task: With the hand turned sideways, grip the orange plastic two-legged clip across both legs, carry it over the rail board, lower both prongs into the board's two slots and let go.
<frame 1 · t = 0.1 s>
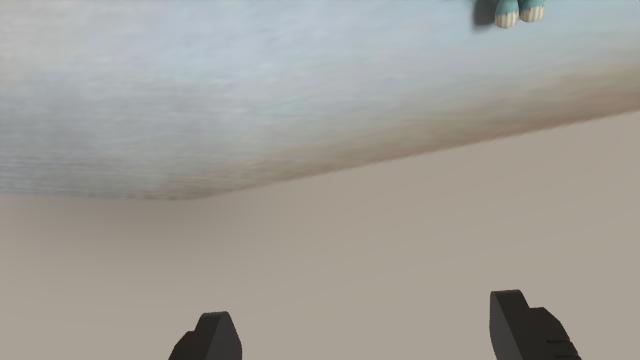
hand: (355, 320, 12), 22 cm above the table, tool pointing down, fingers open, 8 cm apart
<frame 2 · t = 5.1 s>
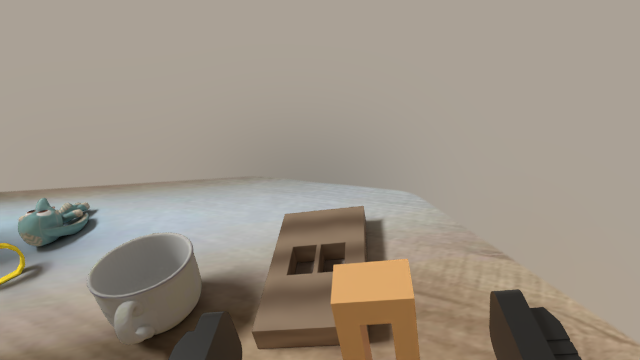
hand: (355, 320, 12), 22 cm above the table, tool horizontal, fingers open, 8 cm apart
teacup: (162, 323, 45), on the table
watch: (9, 279, 59), on the table
rail: (320, 274, 47), on the table
stuffed animal: (63, 231, 69), on the table
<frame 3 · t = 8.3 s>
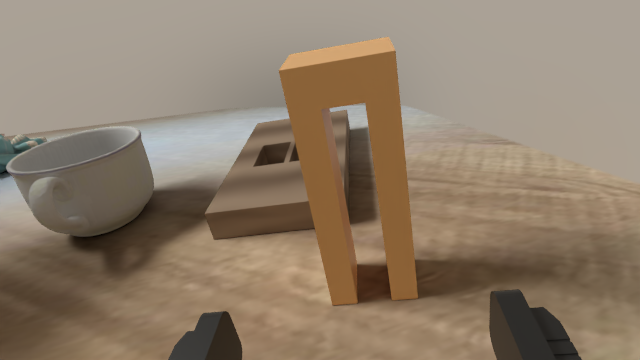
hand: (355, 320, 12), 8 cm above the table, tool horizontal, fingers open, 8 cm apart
teacup: (105, 228, 38), on the table
clip: (373, 280, 25), on the table
rail: (295, 173, 40), on the table
stuffed animal: (16, 165, 62), on the table
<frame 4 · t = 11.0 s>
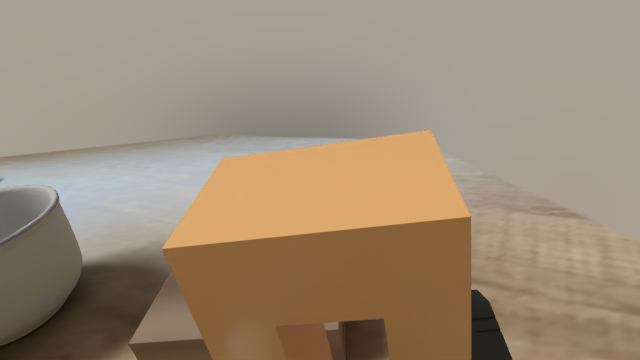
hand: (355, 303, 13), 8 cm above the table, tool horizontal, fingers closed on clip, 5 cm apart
teacup: (10, 331, 27), on the table
rail: (275, 249, 30), on the table
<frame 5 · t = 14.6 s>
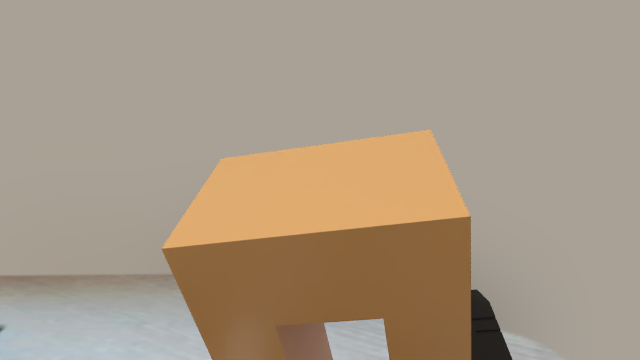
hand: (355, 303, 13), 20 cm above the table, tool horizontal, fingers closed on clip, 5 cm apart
when the fingers open (9 cm above the table, at t = 18.2 s): clip drops 1 cm, resting in rail.
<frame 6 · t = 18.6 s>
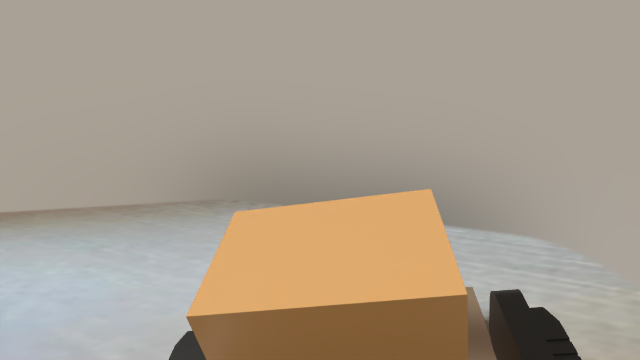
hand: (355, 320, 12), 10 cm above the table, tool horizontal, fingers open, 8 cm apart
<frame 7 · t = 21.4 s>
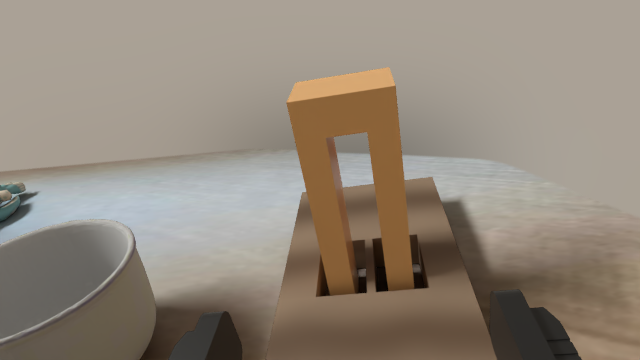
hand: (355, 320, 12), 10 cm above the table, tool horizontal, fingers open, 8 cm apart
clip: (373, 293, 26), resting in rail
rail: (374, 292, 26), on the table
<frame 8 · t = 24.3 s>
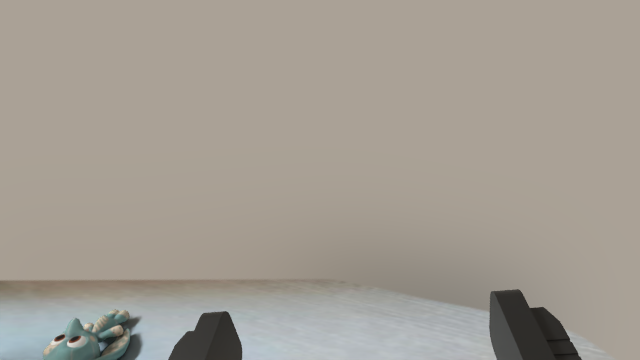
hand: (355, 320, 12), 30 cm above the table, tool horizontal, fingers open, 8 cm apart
stuffed animal: (98, 354, 54), on the table
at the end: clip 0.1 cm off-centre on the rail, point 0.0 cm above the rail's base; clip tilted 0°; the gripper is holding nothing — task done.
